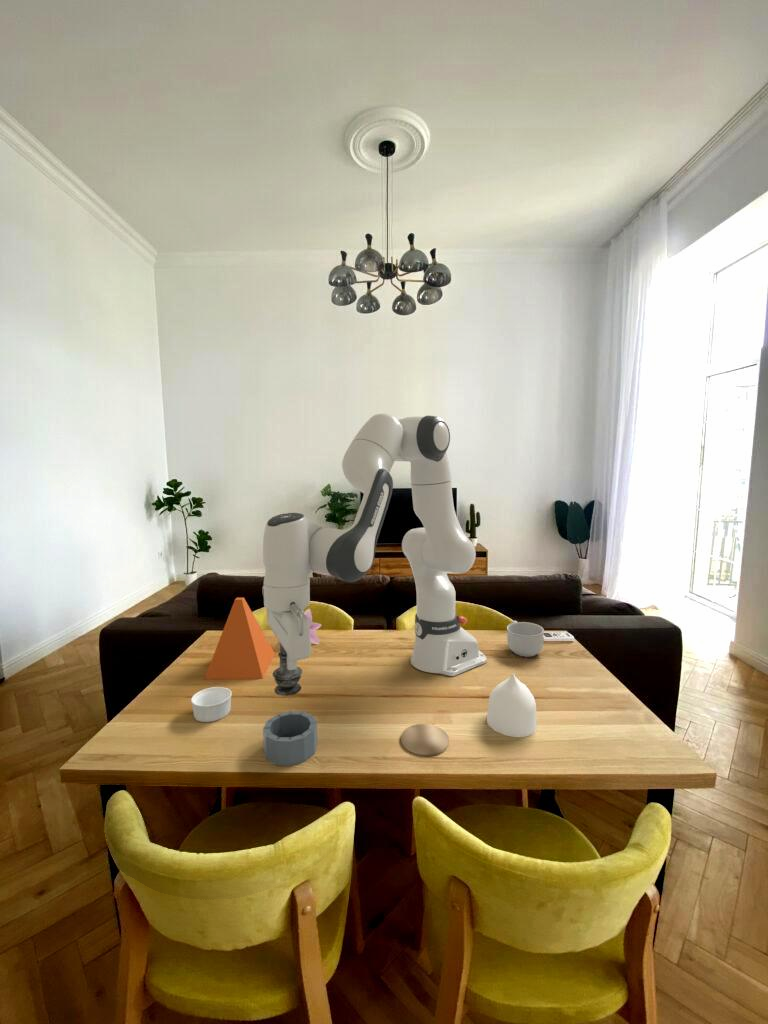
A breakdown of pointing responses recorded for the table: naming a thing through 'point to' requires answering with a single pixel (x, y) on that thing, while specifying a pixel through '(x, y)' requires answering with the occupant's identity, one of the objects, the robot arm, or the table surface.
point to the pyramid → (241, 647)
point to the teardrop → (512, 709)
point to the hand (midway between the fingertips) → (288, 663)
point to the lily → (312, 627)
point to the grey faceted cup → (290, 738)
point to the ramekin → (211, 704)
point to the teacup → (525, 638)
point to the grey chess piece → (286, 677)
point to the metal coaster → (425, 739)
